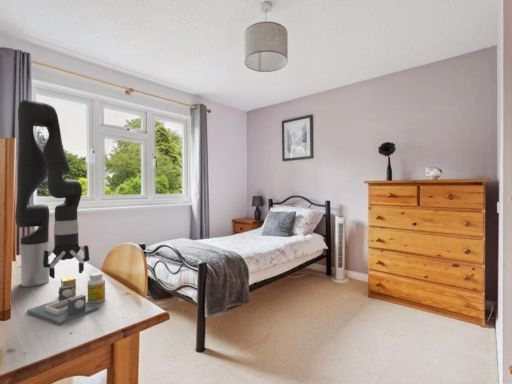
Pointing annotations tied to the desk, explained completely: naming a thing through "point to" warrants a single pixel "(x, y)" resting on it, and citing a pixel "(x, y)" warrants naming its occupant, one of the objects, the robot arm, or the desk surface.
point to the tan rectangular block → (69, 283)
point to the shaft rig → (63, 307)
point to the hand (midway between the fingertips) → (67, 275)
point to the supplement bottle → (96, 288)
